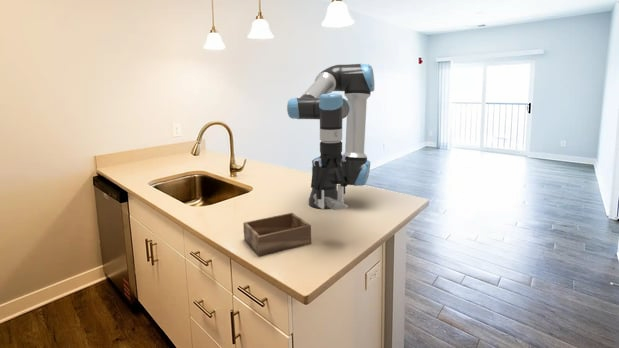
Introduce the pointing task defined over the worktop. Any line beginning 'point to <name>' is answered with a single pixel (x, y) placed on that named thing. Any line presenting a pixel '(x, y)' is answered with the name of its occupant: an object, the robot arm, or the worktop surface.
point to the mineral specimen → (331, 203)
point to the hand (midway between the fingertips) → (330, 205)
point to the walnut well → (277, 234)
